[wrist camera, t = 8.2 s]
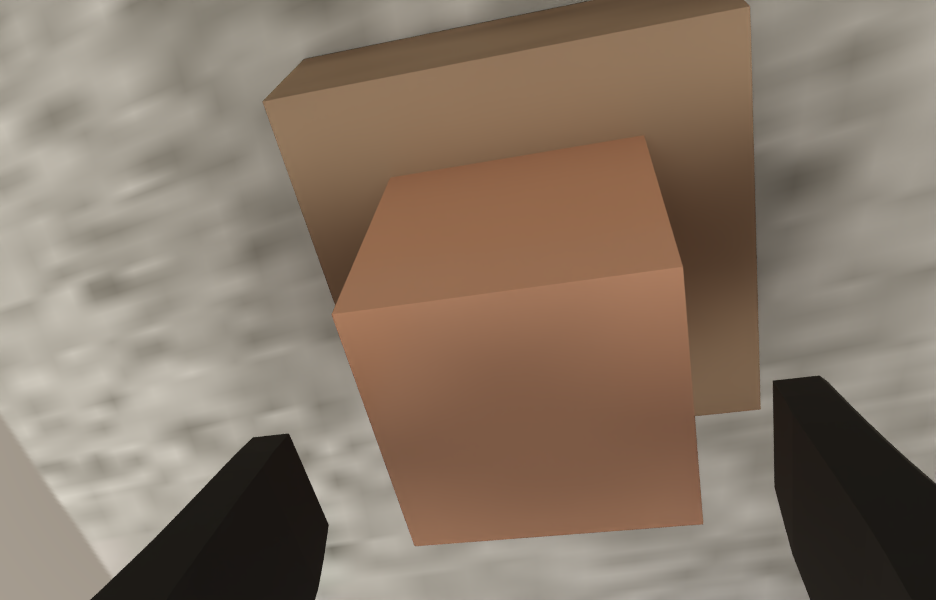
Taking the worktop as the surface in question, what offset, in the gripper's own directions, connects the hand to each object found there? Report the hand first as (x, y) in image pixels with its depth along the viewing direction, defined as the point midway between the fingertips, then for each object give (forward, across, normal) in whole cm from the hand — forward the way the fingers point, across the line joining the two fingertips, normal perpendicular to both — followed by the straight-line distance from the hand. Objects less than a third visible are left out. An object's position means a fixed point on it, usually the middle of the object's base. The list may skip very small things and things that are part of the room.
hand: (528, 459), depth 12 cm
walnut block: (+9, 0, 0) cm, 9 cm away
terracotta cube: (+6, 0, 0) cm, 6 cm away
